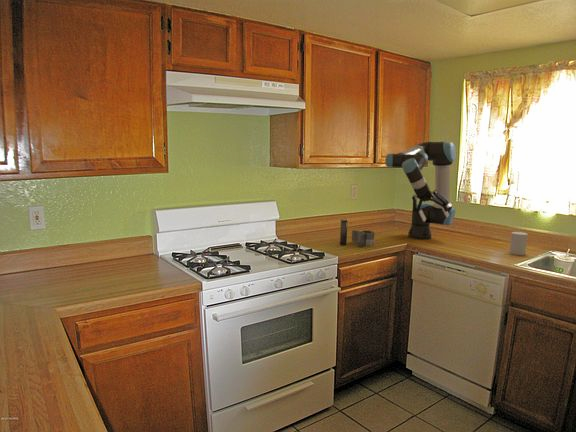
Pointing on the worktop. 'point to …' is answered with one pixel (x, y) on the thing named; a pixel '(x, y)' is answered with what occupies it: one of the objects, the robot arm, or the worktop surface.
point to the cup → (518, 243)
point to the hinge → (363, 238)
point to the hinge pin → (343, 231)
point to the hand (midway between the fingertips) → (436, 218)
